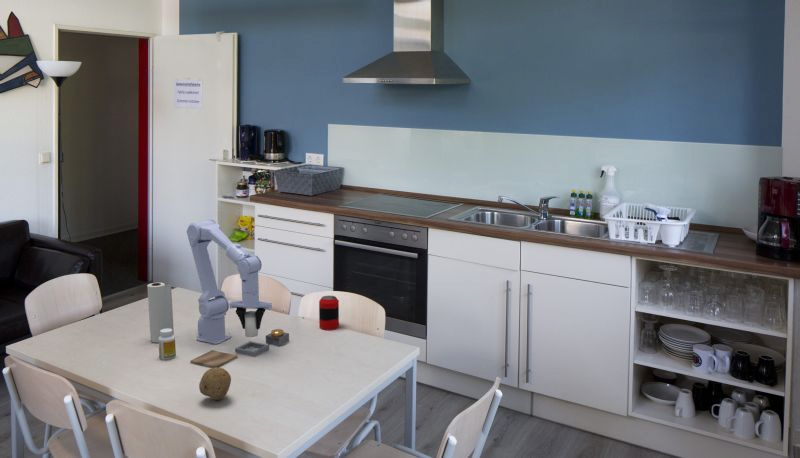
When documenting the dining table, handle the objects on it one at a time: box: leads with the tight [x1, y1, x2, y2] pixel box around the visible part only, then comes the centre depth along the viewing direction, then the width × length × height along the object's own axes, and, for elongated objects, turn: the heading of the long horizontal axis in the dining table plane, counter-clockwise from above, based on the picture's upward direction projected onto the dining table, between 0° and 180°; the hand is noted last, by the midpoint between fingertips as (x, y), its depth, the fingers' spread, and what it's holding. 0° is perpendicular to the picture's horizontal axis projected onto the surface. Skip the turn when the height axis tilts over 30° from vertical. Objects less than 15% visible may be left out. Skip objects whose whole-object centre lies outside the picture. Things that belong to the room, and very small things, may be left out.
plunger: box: [270, 328, 284, 336], centre depth 251 cm, size 4×4×3 cm
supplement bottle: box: [158, 329, 177, 361], centre depth 236 cm, size 5×5×10 cm
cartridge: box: [244, 310, 259, 338], centre depth 241 cm, size 5×5×8 cm
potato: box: [198, 367, 232, 401], centre depth 203 cm, size 9×9×10 cm
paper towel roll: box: [146, 282, 175, 344], centre depth 250 cm, size 7×6×21 cm
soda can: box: [318, 295, 340, 331], centre depth 268 cm, size 8×8×12 cm
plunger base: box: [265, 331, 290, 347], centre depth 251 cm, size 6×6×3 cm
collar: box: [234, 340, 270, 358], centre depth 243 cm, size 8×8×2 cm
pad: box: [189, 350, 238, 369], centre depth 234 cm, size 11×11×1 cm
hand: (251, 328), depth 242 cm, fingers closed on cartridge, 4 cm apart
